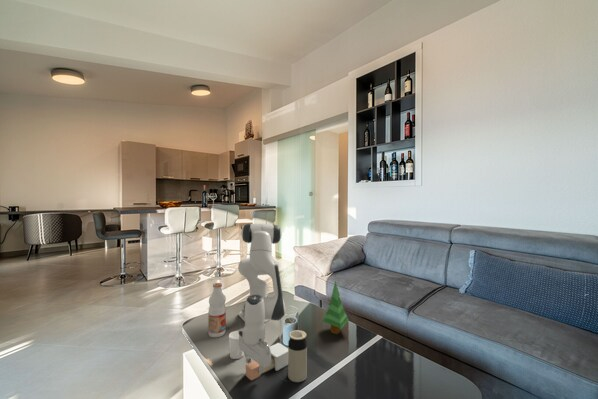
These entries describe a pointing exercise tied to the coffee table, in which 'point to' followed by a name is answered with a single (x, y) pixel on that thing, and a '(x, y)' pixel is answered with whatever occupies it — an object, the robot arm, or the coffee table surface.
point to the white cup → (235, 346)
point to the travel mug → (297, 356)
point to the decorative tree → (335, 312)
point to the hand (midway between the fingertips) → (254, 367)
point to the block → (252, 370)
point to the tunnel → (279, 355)
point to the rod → (270, 364)
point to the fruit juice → (217, 312)
